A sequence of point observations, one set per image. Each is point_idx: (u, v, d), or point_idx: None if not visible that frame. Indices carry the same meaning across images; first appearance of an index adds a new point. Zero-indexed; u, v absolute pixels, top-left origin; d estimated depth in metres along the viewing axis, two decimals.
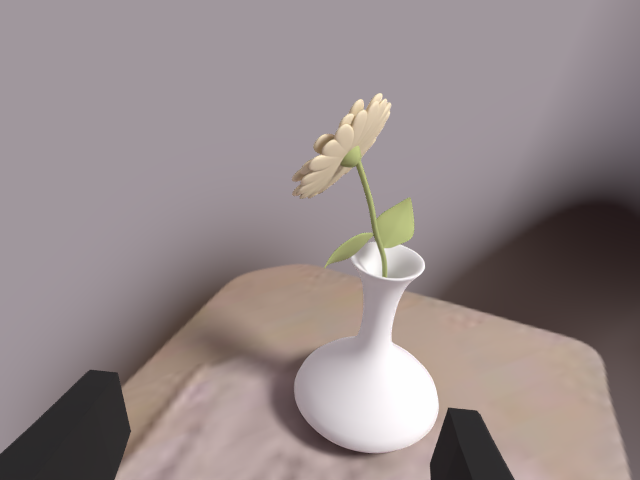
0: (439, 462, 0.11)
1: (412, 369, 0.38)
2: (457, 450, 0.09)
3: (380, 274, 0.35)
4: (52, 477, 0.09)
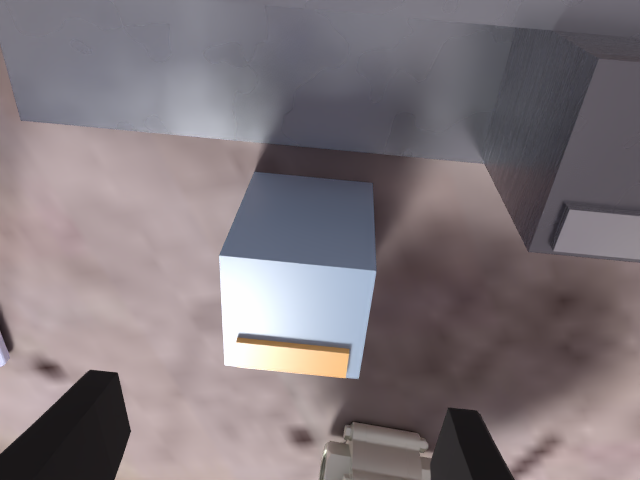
0: (439, 462, 0.11)
1: None
2: (457, 450, 0.09)
3: None
4: (52, 477, 0.09)
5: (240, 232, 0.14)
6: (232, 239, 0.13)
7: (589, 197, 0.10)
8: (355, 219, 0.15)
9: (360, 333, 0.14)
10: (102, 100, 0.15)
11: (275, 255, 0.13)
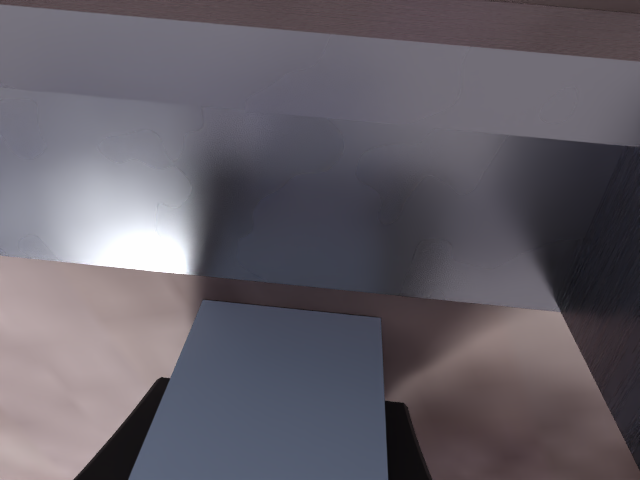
0: None
1: None
2: None
3: None
4: None
5: (157, 456, 0.08)
6: (140, 478, 0.08)
7: None
8: (353, 409, 0.09)
9: None
10: None
11: None
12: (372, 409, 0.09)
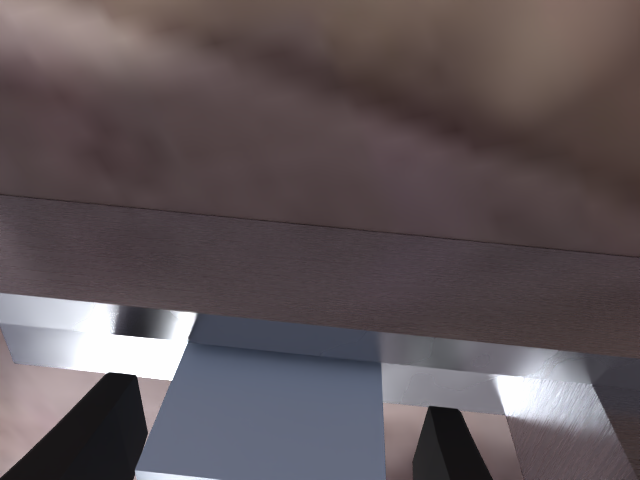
0: (420, 460, 0.11)
1: None
2: (436, 448, 0.09)
3: None
4: None
5: (176, 411, 0.09)
6: (161, 428, 0.09)
7: None
8: (353, 373, 0.10)
9: None
10: (100, 351, 0.14)
11: (225, 466, 0.08)
12: (370, 373, 0.10)
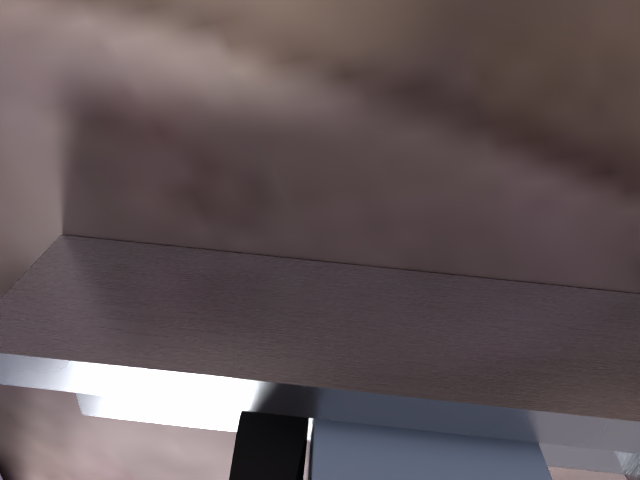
0: None
1: None
2: None
3: None
4: None
5: None
6: None
7: None
8: (511, 454, 0.09)
9: None
10: (179, 404, 0.13)
11: None
12: (529, 453, 0.09)
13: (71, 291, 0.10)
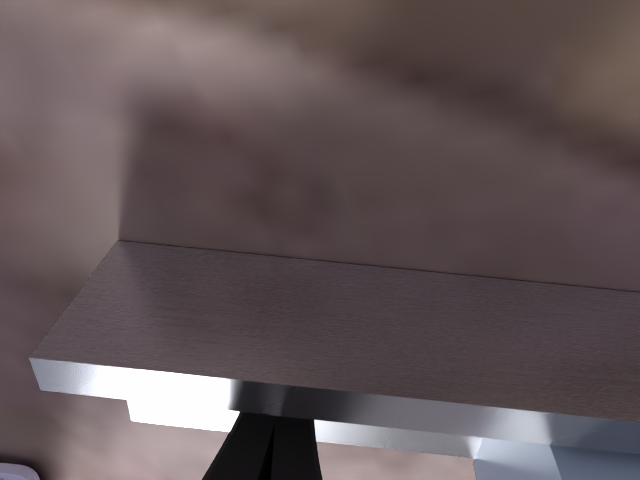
0: None
1: None
2: None
3: None
4: None
5: None
6: None
7: None
8: None
9: None
10: None
11: None
12: None
13: (137, 299, 0.09)
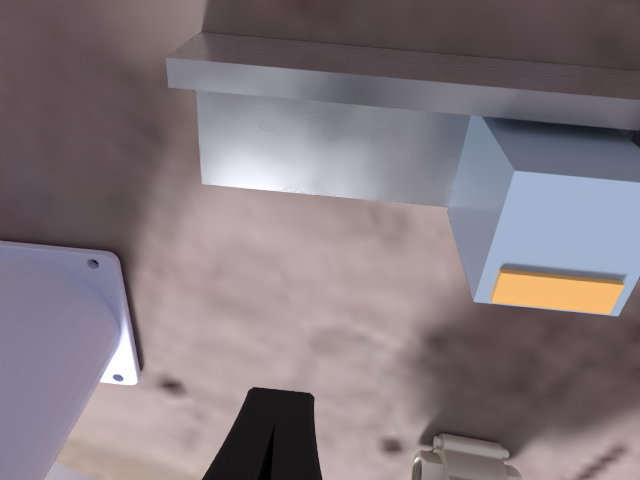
0: None
1: None
2: None
3: None
4: None
5: (514, 152, 0.13)
6: (513, 157, 0.12)
7: None
8: (616, 144, 0.14)
9: None
10: (275, 168, 0.18)
11: (571, 172, 0.12)
12: (628, 144, 0.14)
13: (223, 47, 0.15)
